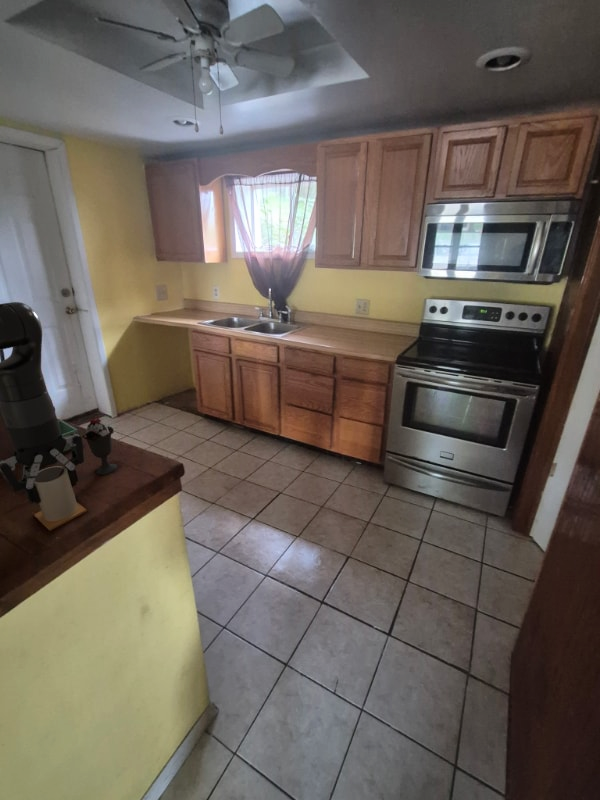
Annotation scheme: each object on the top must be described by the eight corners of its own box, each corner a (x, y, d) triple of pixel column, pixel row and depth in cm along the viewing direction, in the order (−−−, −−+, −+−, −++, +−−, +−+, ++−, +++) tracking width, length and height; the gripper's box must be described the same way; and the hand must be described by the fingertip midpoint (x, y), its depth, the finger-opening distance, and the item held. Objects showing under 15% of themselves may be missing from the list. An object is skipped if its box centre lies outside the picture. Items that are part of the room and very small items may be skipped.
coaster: (49, 531, 71) (49, 529, 71) (34, 516, 75) (33, 514, 75) (86, 511, 76) (86, 509, 76) (70, 498, 80) (70, 496, 80)
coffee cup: (51, 526, 72) (38, 487, 68) (38, 513, 75) (25, 476, 71) (83, 509, 76) (72, 472, 72) (69, 498, 79) (58, 462, 76)
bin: (42, 461, 93) (37, 444, 91) (27, 449, 98) (21, 432, 96) (82, 446, 100) (77, 429, 98) (65, 435, 105) (61, 419, 103)
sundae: (111, 458, 95) (99, 405, 89) (126, 467, 91) (114, 412, 85) (85, 470, 90) (70, 414, 84) (100, 480, 86) (85, 422, 80)
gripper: (63, 399, 74) (82, 469, 81) (-26, 426, 64) (5, 504, 70) (82, 408, 70) (100, 482, 77) (-10, 438, 59) (21, 521, 66)
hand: (54, 492), depth 73 cm, fingers closed on coffee cup, 6 cm apart
